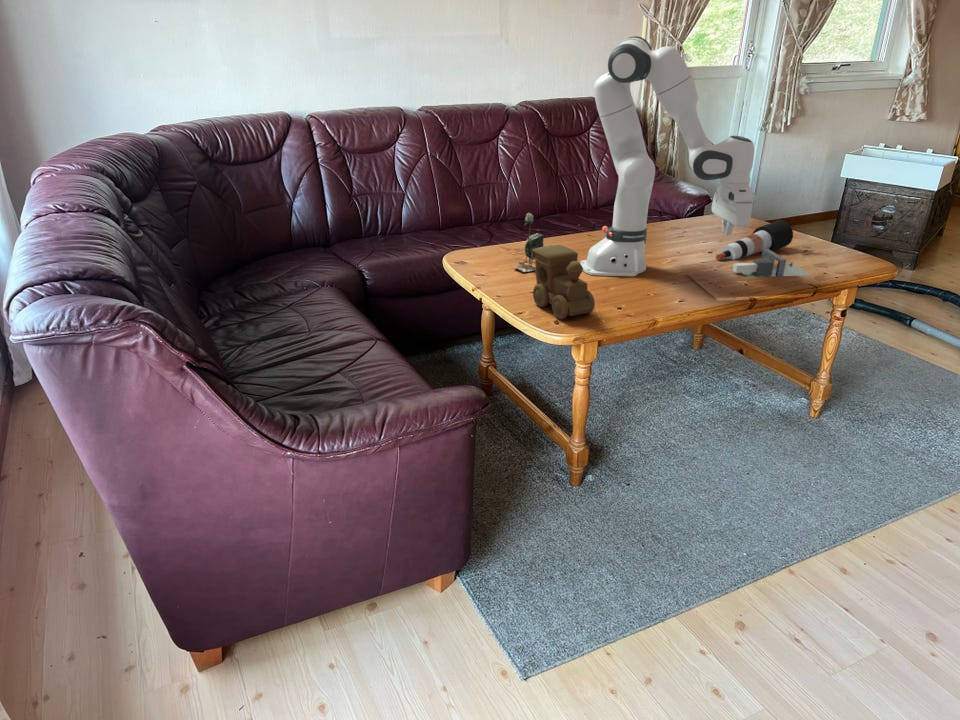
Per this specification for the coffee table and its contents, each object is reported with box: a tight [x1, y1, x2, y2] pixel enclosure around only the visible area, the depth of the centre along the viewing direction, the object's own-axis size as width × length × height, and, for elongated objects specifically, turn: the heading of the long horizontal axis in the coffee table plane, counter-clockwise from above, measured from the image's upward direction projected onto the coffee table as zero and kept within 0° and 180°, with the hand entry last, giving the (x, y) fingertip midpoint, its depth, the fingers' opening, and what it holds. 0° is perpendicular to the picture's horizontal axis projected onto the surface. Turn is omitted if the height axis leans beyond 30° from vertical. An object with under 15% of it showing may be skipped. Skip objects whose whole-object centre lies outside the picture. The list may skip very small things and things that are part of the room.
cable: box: [715, 219, 794, 261], centre depth 242 cm, size 10×34×10 cm, turn 122°
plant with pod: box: [513, 212, 545, 273], centre depth 227 cm, size 8×11×20 cm
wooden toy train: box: [532, 244, 596, 320], centre depth 194 cm, size 20×11×17 cm, turn 27°
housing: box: [732, 249, 812, 279], centre depth 225 cm, size 22×12×7 cm, turn 96°
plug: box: [732, 258, 775, 275], centre depth 223 cm, size 12×4×4 cm, turn 96°
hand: (726, 233), depth 216 cm, fingers closed
